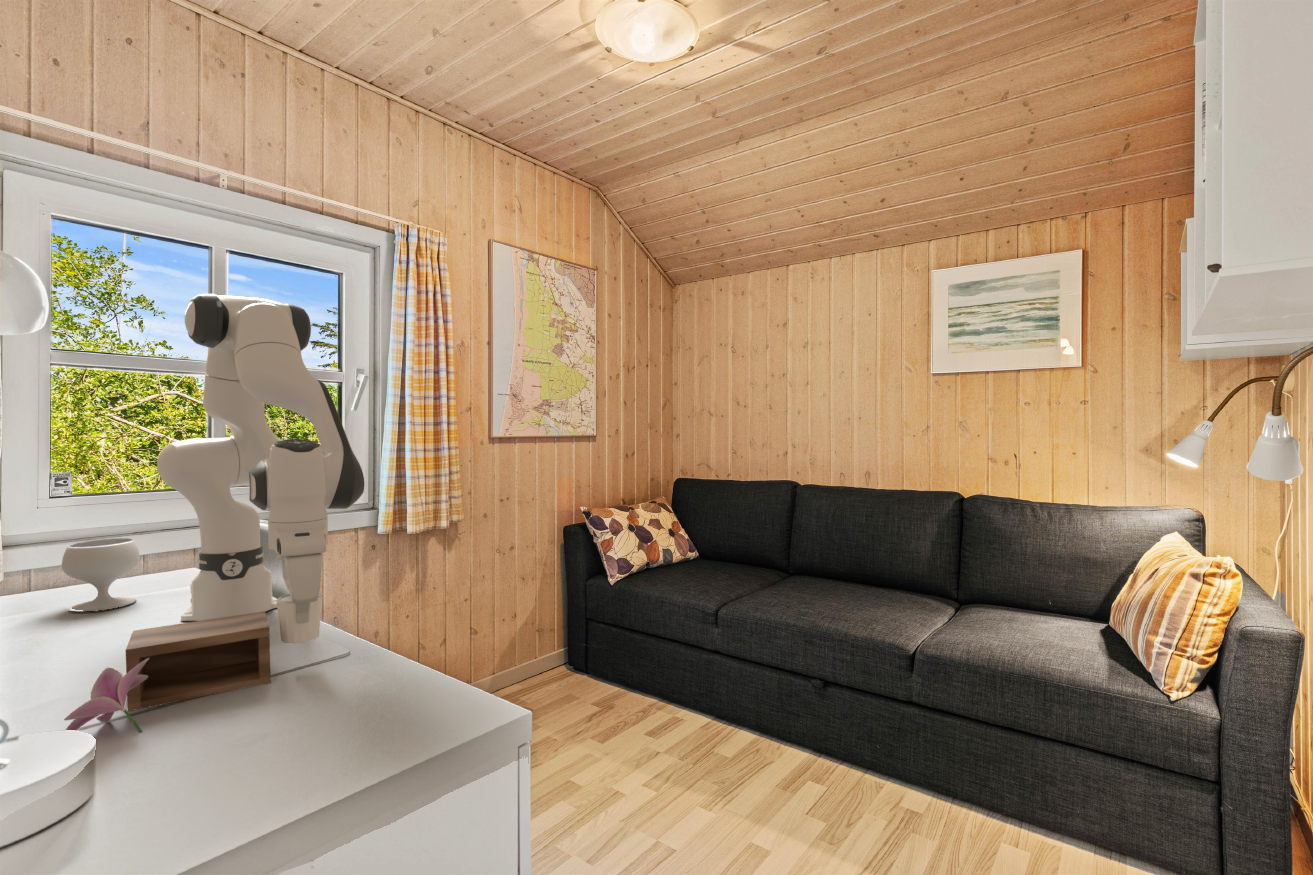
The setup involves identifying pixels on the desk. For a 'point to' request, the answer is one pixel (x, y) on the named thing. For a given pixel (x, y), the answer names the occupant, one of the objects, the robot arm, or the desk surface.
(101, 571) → the chalice
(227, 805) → the desk surface
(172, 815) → the desk surface
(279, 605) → the cream tapered cup
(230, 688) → the walnut shelf
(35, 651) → the desk surface
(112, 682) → the lily
